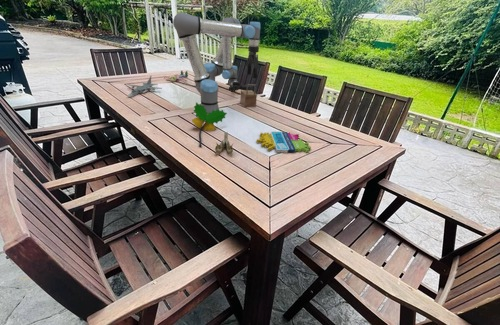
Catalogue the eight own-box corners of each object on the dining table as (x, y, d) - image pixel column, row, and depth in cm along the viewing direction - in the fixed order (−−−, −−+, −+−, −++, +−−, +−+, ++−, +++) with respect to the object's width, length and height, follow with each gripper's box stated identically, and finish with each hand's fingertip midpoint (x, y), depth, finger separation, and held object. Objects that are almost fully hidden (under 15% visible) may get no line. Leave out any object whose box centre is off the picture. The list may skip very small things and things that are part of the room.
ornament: (218, 133, 171) (224, 110, 169) (221, 134, 163) (227, 111, 161) (186, 125, 162) (192, 101, 160) (189, 126, 155) (195, 101, 153)
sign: (313, 150, 142) (258, 149, 139) (312, 153, 143) (258, 152, 140) (301, 132, 164) (254, 130, 161) (301, 134, 165) (254, 133, 162)
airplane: (121, 87, 235) (119, 76, 230) (157, 85, 248) (156, 74, 243) (125, 100, 206) (123, 87, 201) (166, 97, 219) (165, 85, 214)
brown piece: (257, 96, 206) (257, 84, 201) (245, 96, 203) (246, 84, 198) (251, 91, 217) (252, 80, 213) (240, 91, 214) (241, 80, 210)
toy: (196, 71, 285) (184, 76, 259) (196, 78, 288) (184, 83, 262) (173, 69, 290) (158, 73, 264) (173, 75, 293) (159, 80, 267)
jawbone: (234, 135, 144) (233, 125, 135) (233, 160, 138) (232, 151, 129) (217, 135, 144) (216, 125, 135) (216, 160, 138) (214, 150, 129)
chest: (255, 106, 211) (256, 96, 206) (244, 107, 208) (245, 96, 204) (250, 102, 221) (251, 91, 217) (240, 102, 219) (240, 91, 214)
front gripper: (264, 48, 179) (262, 79, 190) (253, 44, 200) (251, 73, 210) (254, 47, 177) (252, 79, 187) (243, 43, 197) (242, 73, 208)
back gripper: (248, 89, 249) (255, 95, 231) (222, 89, 241) (228, 95, 224) (248, 81, 245) (256, 86, 228) (222, 81, 237) (228, 87, 220)
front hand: (251, 76), depth 199 cm, fingers open, 13 cm apart
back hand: (242, 91), depth 226 cm, fingers open, 13 cm apart
